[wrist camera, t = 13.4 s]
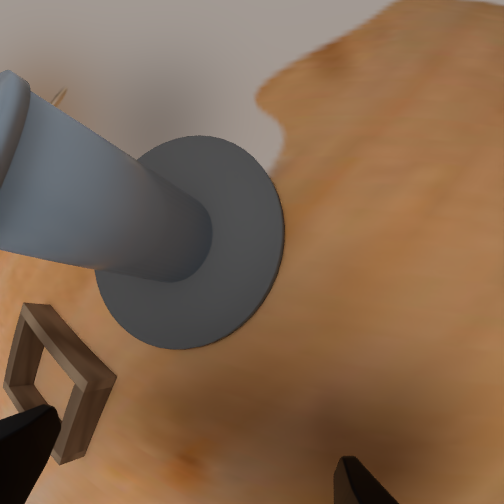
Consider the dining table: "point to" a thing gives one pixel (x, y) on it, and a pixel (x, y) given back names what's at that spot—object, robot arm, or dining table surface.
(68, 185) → the jug
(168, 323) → the rubber mat
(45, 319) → the jug holder
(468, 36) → the dining table surface
